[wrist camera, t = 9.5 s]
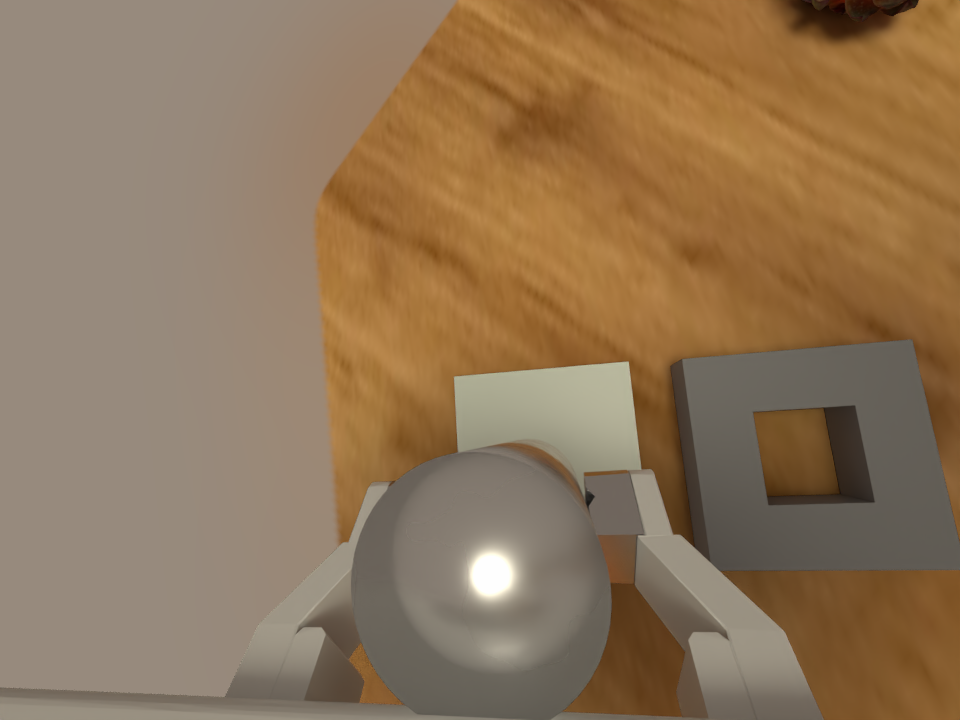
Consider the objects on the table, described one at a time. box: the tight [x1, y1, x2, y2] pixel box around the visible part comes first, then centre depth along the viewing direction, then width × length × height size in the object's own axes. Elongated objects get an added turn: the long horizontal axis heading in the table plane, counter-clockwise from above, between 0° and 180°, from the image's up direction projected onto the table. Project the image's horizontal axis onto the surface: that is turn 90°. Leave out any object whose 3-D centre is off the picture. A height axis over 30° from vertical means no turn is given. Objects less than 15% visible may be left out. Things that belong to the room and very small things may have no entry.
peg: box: [351, 439, 612, 720], centre depth 11 cm, size 4×4×11 cm
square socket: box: [670, 340, 960, 571], centre depth 26 cm, size 12×12×3 cm
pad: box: [454, 362, 641, 499], centre depth 29 cm, size 12×12×1 cm
